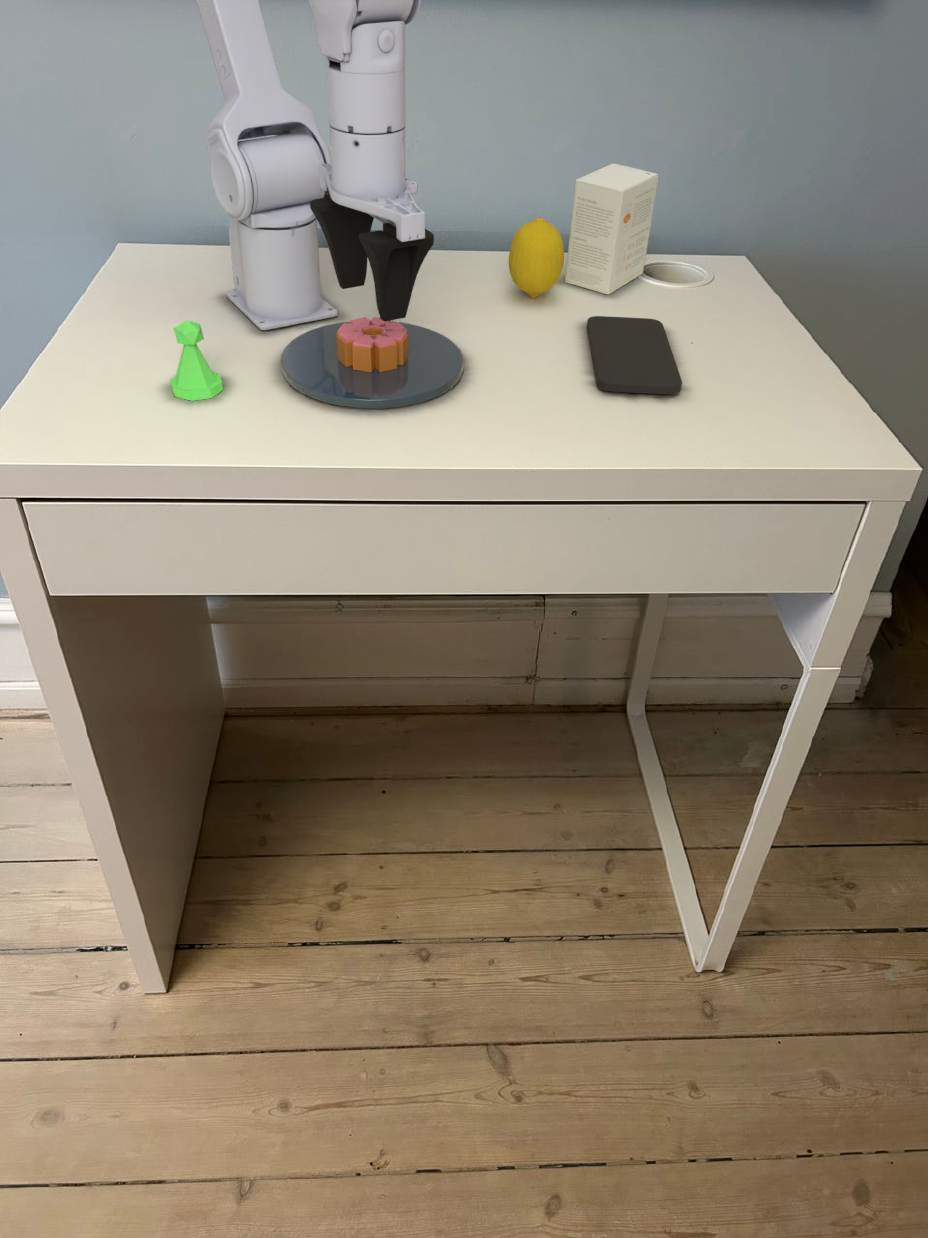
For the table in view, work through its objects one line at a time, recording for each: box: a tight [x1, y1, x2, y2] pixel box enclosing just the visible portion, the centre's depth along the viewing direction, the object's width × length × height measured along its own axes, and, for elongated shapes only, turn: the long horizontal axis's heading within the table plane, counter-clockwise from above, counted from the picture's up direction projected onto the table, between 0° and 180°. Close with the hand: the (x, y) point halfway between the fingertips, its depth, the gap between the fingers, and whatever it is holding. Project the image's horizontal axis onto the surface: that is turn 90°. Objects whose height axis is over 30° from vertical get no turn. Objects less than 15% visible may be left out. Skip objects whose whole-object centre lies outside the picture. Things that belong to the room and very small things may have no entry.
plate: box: [280, 319, 465, 409], centre depth 84 cm, size 16×16×1 cm
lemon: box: [508, 216, 565, 299], centre depth 96 cm, size 6×6×8 cm
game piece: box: [169, 320, 224, 402], centre depth 78 cm, size 4×4×6 cm
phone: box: [586, 315, 683, 395], centre depth 88 cm, size 7×1×15 cm
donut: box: [336, 316, 408, 372], centre depth 83 cm, size 6×6×2 cm
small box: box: [564, 162, 660, 295], centre depth 100 cm, size 8×6×10 cm
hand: (371, 301), depth 81 cm, fingers open, 7 cm apart
